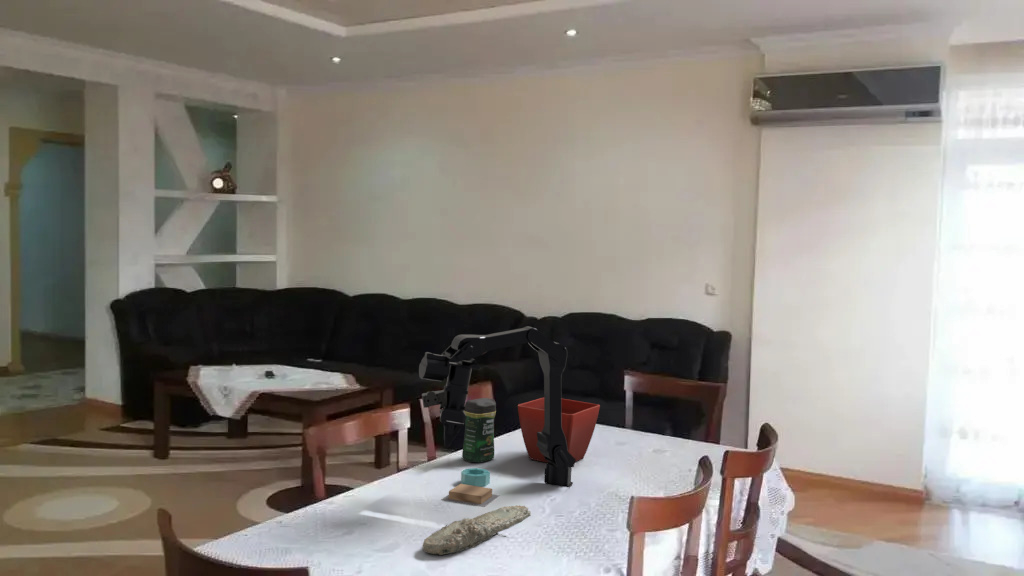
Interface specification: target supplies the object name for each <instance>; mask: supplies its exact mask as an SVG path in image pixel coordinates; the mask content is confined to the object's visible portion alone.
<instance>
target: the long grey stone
mask: <svg viewBox="0 0 1024 576" xmlns="http://www.w3.org/2000/svg"><path fill="white" fill-rule="evenodd" d="M531 514H532V513H531V511H530V510H529V508H528V507H527V506H526V505H517V504H516V505H511V506H503V507H498V508H497V509H495V510H492V511H488V512H485V513H482V514H480V515H478V516H475V517H473V518H469V517H467V518H462V519H461V520H454V521H452V522H451V523H449V524H448V525H446V526H442V527H441V528H440V529H439V530H437V531H435V532H433V533H431V534H430V535H429V536H427V537H426V538H425V539H424V540H423V543H422V549H423V551H424V552H426V553H428V554H431V555H432V554H433V555H439V556H443V555H446V554H447V555H448V554H450V553H458V552H462V551H464V550H466V549H469V548H475V547H476V546H477V545H479V546H480V543H482V542H485V541H487V540H489V539H491V538H492V537H494V535H496V534H499V532H502V531H504V530H506V529H510V528H511V527H514V526H516V524H519V523H522V522H523V521H525V520H526V519H527V518H528V517H531Z"/></svg>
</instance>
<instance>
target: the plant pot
mask: <svg viewBox="0 0 1024 576" xmlns="http://www.w3.org/2000/svg"><path fill="white" fill-rule="evenodd" d="M600 408H601V405H600V404H599V403H598V404H596V403H592V402H584V401H580V400H572V399H567V398H566V399H565V398H562V397H561V409H562V430H563V432H564V435H565V437H566V442H567V448H568V452H569V453H570V454H571V455H572V456H573V457H574V458H575V459H576V461H575V463H576V462H578V461H580V460H582V459H584V458H585V455H586V453H587V451H588V449H589V446H590V443H591V441H592V438H593V434H594V431H595V428H596V424H597V422H598V421H597V420H598V418H599V414H600V413H599V411H600ZM517 412H518V419H519V425H520V430H521V434H522V439H523V443H524V446H525V449H526V452H527V455H528V459H530V460H534V461H539V462H543V463H546V464H547V463H548V461H546V460H545V458H544V455H543V454H542V453H541V452H540V451H539V447H537V446H536V445H537V441H538V438H537V432H542V430H543V428H544V397H540V398H537V399H533V400H530V401H527V402H523V403H518V405H517Z"/></svg>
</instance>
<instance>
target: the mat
mask: <svg viewBox="0 0 1024 576" xmlns="http://www.w3.org/2000/svg"><path fill="white" fill-rule="evenodd" d="M499 497H500V495H498V494H493V493H492V497H490V498H489V499H488V500H486V501H485V502H483V503H482V504H477V503H471V502H465V501H458V500H452V499H449V494H447V495H446V496H445V497H443V498H441V499H440V501H445V502H451V503H452V502H453V503H458V504H463V505H470V506H476V507H482V508H485V507H486V506H487V505H489V504H490V503H492V502H493V501H494V500H496V499H498V498H499Z"/></svg>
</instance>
